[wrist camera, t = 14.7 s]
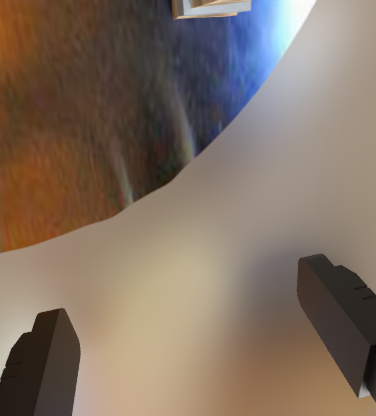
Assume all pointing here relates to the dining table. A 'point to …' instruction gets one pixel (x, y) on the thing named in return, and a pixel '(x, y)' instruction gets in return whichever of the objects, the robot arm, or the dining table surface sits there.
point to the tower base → (175, 15)
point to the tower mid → (211, 8)
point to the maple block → (212, 2)
